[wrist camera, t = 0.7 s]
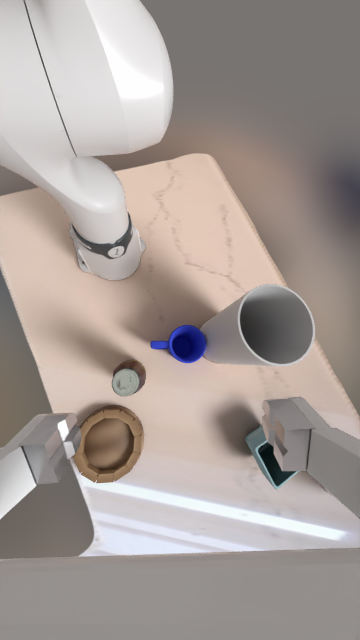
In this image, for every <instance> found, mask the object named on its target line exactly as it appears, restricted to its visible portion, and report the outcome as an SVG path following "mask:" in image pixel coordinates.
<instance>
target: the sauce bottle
mask: <svg viewBox="0 0 360 640" xmlns="http://www.w3.org/2000/svg"><path fill="white" fill-rule="evenodd" d="M145 379H146V371H145V368H144V366H143V365H142V364H141V363H140V362H139V361H135V360H130V361H126V362H123V363H122V364H120V365H119V366H118V367H117V368H116V369H115V370H114V372H113V379H112V388H113V390H114V392H115V393H116V394H118V395H120V396H129V395H132V394H134V393H136V392H137V391H139V390H140V389H141V388H142V386H143V385H144V384H145Z"/></svg>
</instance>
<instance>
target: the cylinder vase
mask: <svg viewBox="0 0 360 640" xmlns="http://www.w3.org/2000/svg"><path fill="white" fill-rule="evenodd" d="M200 331H201V332H202V333H203V335H204V337H205V340H206V349H205V352H204V354H203V356H204V357H205V358H207V359H208V360H209V361H211V362H214V363H217V364H236V365H258V366H280V367H283V366H290V365H294V364H296V363H298V362H300V361H301V360H302V359H304V358H305V357H306V355H307V354H308V353H309V351H310V350H311V348H312V345H313V342H314V337H315V325H314V320H313V317H312V314H311V312H310V310H309V308H308V306H307V305H306V303H305V302H304V301H303V299H302V298H301V297H300V296H299V295H298V294H296V293H295V292H294V291H292V290H290V289H289V288H287V287H284V286H281V285H277V284H265V285H261V286H258V287H256V288H254V289H252V290H251V291H249V292H248V293H247V294H245V295H244V296H242V297H241V298H239V299H238V300H237V301H235V302H234V303H232V304H231V305H229V306H228V307H227V308H225V309H224V310H222V311H221V312H219V313H218V314H217V315H215V316H214V317H212V318H211V319H209V320H208V321H207V322H205V323H204V324H203V325H202V327H201V328H200Z"/></svg>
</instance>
